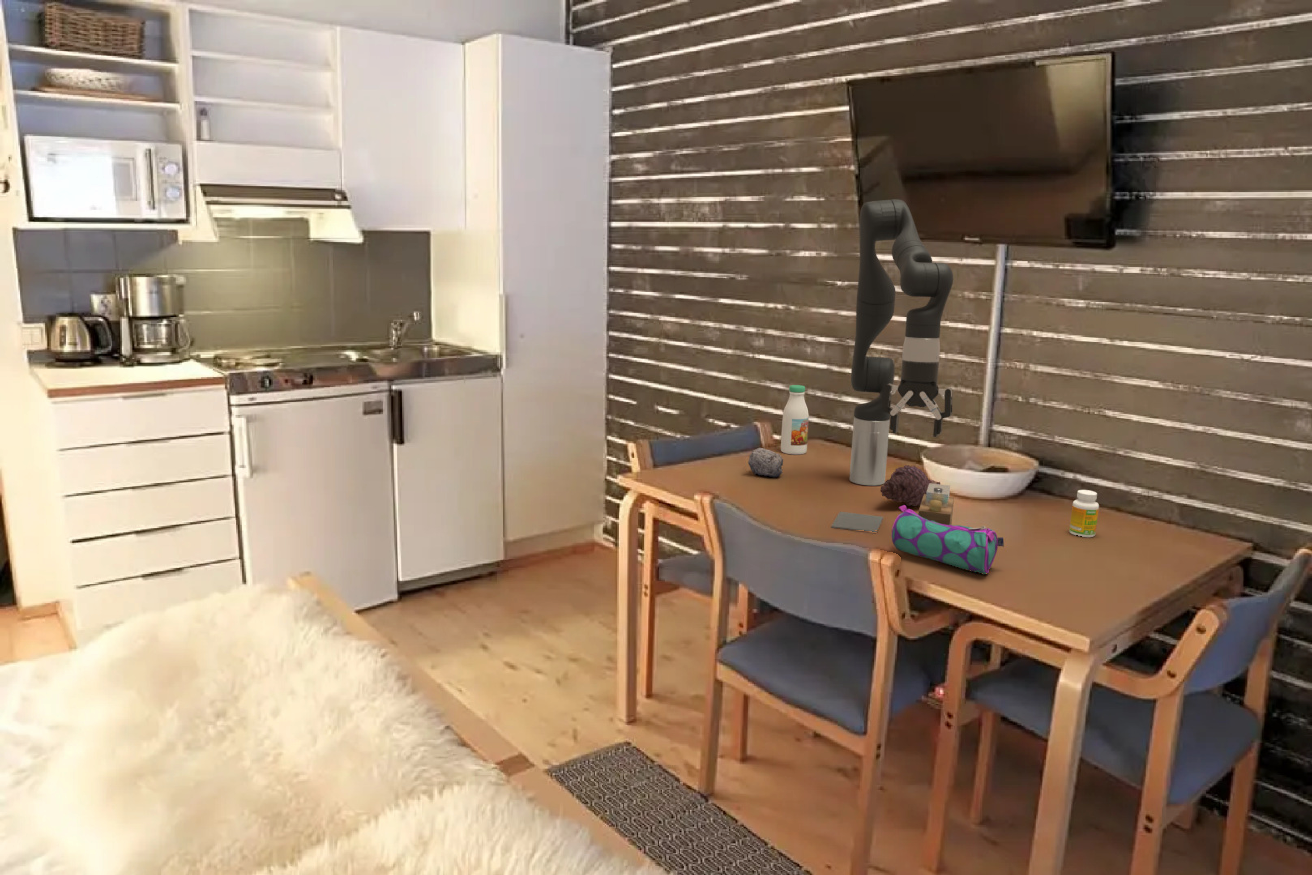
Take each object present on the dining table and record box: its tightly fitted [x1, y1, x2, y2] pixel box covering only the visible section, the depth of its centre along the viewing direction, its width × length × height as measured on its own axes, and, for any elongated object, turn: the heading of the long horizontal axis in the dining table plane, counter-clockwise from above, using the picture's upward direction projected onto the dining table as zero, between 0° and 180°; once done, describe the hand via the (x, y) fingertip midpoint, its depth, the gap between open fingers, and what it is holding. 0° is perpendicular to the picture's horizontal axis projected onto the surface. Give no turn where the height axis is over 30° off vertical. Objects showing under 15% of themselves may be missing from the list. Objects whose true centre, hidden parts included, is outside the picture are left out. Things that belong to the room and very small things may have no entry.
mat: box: [830, 511, 884, 533], centre depth 217 cm, size 12×10×1 cm
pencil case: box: [890, 504, 1005, 575], centre depth 192 cm, size 21×9×10 cm, turn 50°
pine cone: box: [880, 464, 941, 507], centre depth 231 cm, size 18×10×10 cm, turn 118°
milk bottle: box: [780, 384, 810, 455], centre depth 282 cm, size 8×8×20 cm
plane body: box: [917, 494, 955, 525], centre depth 208 cm, size 14×7×10 cm, turn 160°
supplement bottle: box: [1068, 489, 1100, 538], centre depth 212 cm, size 5×5×10 cm
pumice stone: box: [747, 447, 784, 478], centre depth 256 cm, size 10×8×10 cm
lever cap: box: [925, 483, 951, 508], centre depth 208 cm, size 8×4×3 cm, turn 160°
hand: (915, 434), depth 203 cm, fingers open, 8 cm apart
